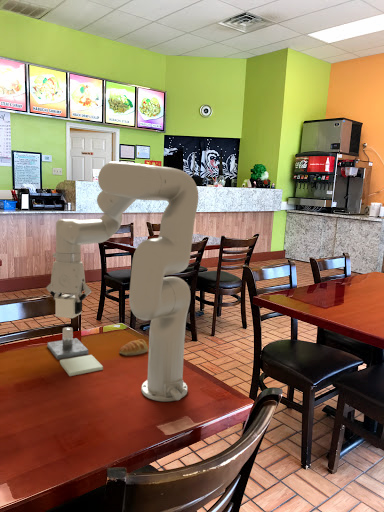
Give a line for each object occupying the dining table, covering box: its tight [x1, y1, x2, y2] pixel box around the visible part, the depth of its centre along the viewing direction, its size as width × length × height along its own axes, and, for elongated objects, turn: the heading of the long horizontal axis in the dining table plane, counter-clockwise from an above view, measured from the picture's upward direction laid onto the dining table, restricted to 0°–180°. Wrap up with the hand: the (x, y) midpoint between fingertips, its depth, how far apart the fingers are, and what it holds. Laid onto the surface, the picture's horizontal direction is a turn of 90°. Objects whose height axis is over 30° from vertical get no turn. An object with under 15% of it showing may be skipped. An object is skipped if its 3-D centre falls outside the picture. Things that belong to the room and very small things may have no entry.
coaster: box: [59, 354, 104, 377], centre depth 124 cm, size 10×10×1 cm
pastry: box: [118, 338, 149, 357], centre depth 137 cm, size 9×7×4 cm
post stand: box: [47, 326, 89, 360], centre depth 135 cm, size 12×10×8 cm
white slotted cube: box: [54, 293, 83, 319], centre depth 133 cm, size 6×6×6 cm
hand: (68, 311), depth 133 cm, fingers closed on white slotted cube, 5 cm apart
